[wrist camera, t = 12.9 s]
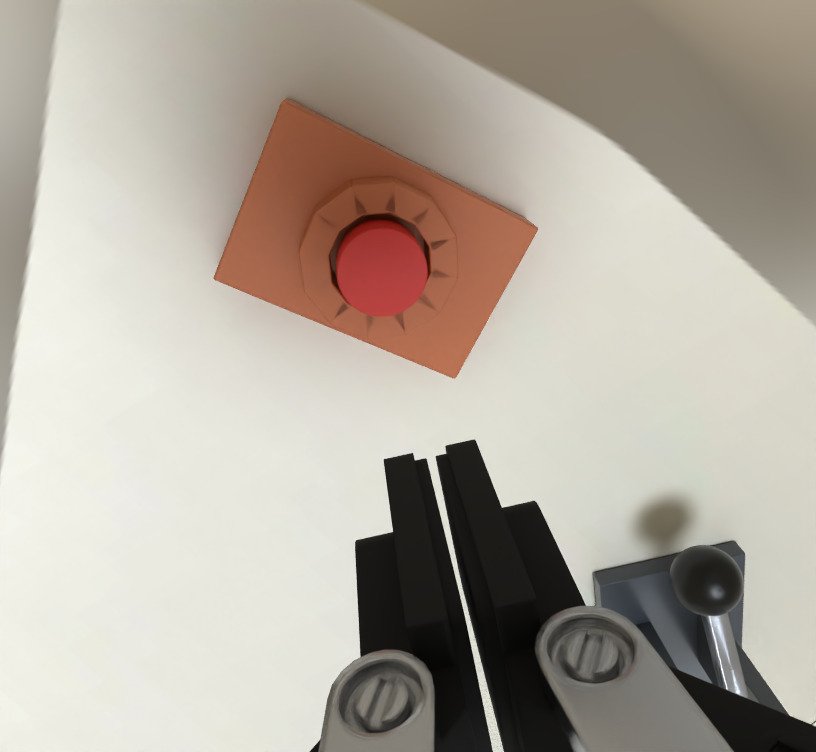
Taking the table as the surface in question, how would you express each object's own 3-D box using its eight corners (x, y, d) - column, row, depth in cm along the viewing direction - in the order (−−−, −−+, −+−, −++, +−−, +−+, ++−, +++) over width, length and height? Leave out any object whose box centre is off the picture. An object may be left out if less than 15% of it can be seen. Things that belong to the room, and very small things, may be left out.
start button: (322, 282, 28) (322, 296, 26) (358, 203, 27) (359, 212, 25) (399, 316, 29) (403, 330, 27) (437, 241, 28) (443, 251, 26)
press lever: (652, 547, 37) (678, 560, 34) (714, 533, 37) (747, 545, 34) (710, 788, 36) (743, 828, 33) (775, 774, 36) (814, 812, 33)
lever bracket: (592, 572, 41) (684, 749, 30) (734, 540, 41) (876, 705, 30) (604, 703, 46) (686, 894, 35) (731, 675, 46) (850, 856, 36)
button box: (220, 266, 31) (205, 292, 27) (285, 97, 28) (279, 101, 25) (448, 361, 34) (462, 396, 30) (526, 218, 31) (551, 237, 28)
